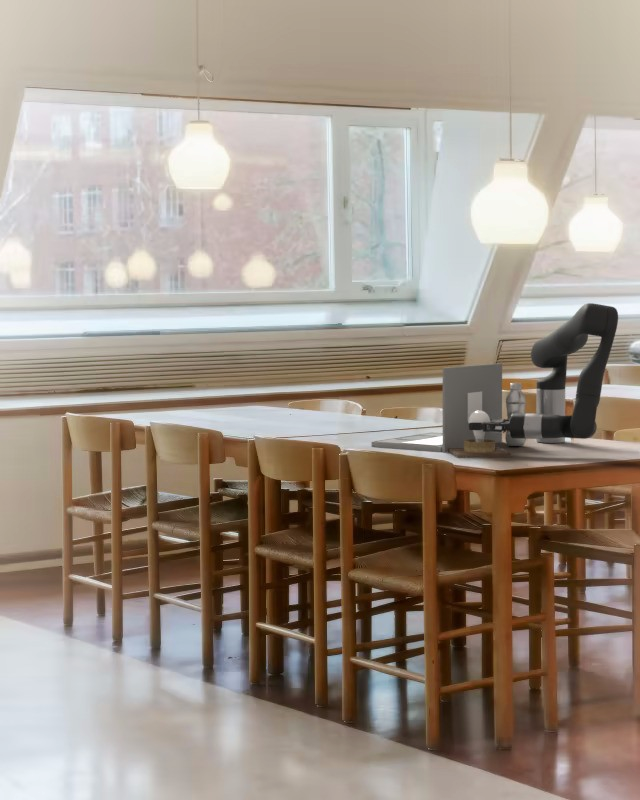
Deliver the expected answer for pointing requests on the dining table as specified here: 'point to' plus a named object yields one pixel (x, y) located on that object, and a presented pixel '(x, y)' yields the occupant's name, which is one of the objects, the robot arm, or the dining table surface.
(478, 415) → the lightbulb
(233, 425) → the dining table surface
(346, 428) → the dining table surface
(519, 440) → the plastic bottle
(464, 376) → the laptop
